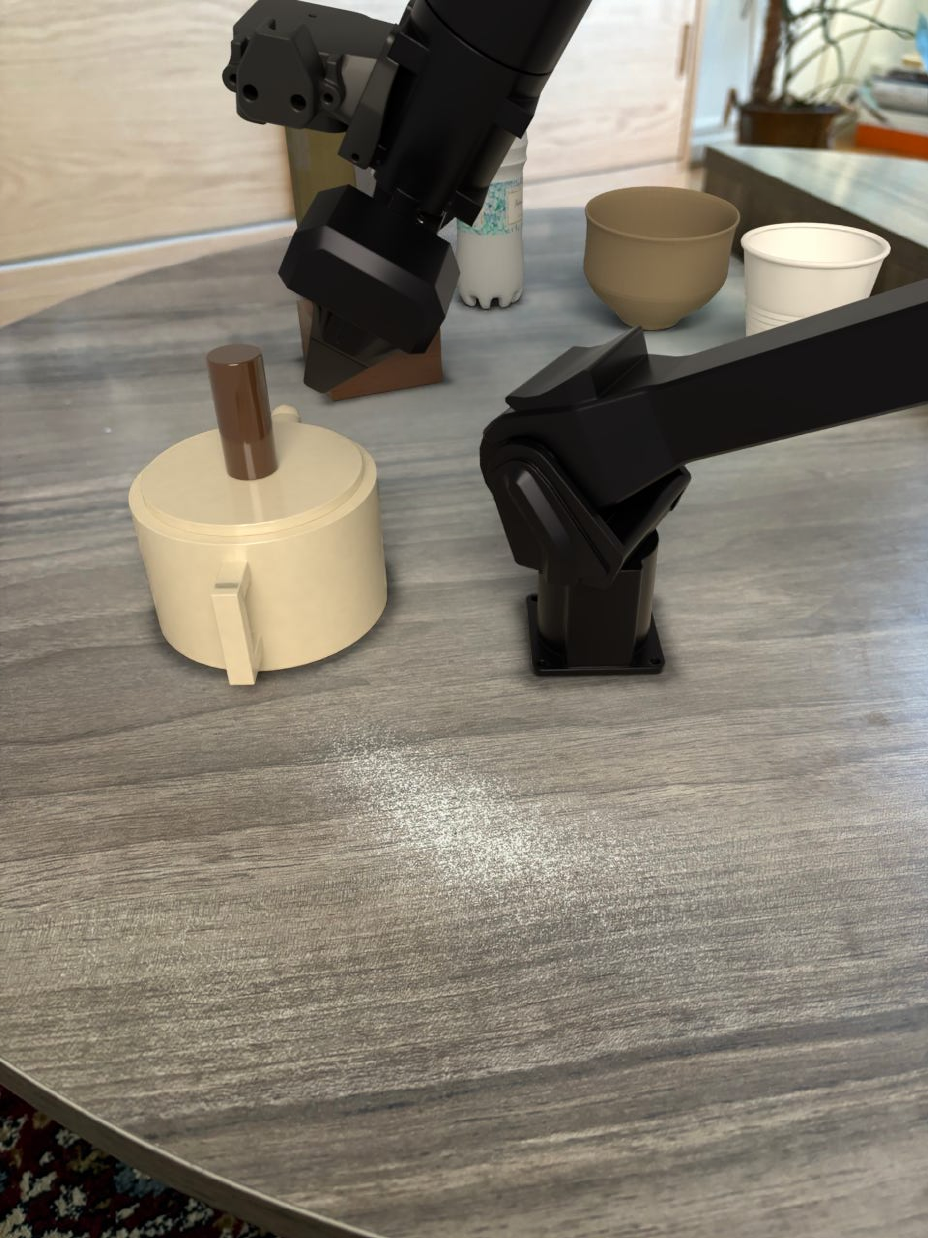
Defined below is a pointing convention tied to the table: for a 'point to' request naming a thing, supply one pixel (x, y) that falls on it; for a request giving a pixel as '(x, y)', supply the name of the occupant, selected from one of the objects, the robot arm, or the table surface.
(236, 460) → the lid
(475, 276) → the bottle
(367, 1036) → the table surface
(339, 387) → the stand
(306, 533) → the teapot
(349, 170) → the canister
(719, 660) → the table surface
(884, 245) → the cup
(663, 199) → the bowl
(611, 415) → the robot arm
